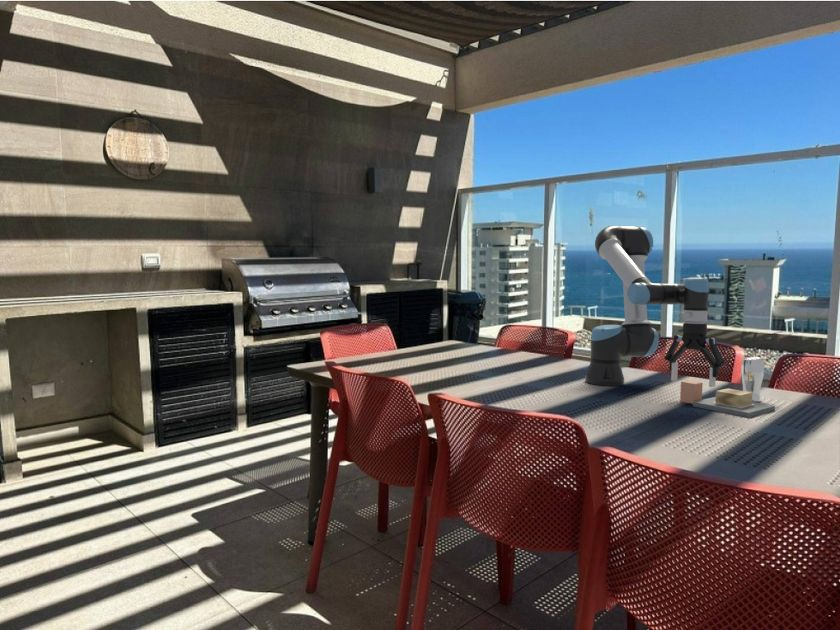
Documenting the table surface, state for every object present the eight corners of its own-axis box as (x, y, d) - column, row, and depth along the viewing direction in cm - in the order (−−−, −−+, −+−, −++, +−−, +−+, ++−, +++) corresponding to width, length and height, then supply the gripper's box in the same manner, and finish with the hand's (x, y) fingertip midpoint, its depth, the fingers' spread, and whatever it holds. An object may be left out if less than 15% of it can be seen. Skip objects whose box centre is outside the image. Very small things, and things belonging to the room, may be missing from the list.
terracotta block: (680, 401, 199) (681, 381, 198) (687, 399, 202) (688, 380, 201) (693, 404, 195) (694, 384, 194) (701, 402, 198) (702, 382, 197)
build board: (692, 406, 192) (692, 401, 191) (719, 399, 202) (719, 395, 202) (748, 417, 177) (748, 412, 177) (774, 410, 187) (774, 405, 187)
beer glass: (759, 398, 205) (762, 357, 204) (764, 402, 198) (766, 360, 197) (737, 397, 207) (740, 356, 206) (741, 401, 201) (744, 359, 200)
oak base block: (715, 402, 190) (716, 390, 190) (727, 399, 195) (727, 388, 195) (740, 407, 184) (740, 395, 183) (751, 404, 188) (752, 392, 188)
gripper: (655, 320, 204) (653, 379, 205) (726, 325, 184) (723, 390, 185) (667, 320, 208) (665, 377, 210) (737, 324, 188) (734, 388, 189)
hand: (692, 383), depth 197 cm, fingers open, 13 cm apart
